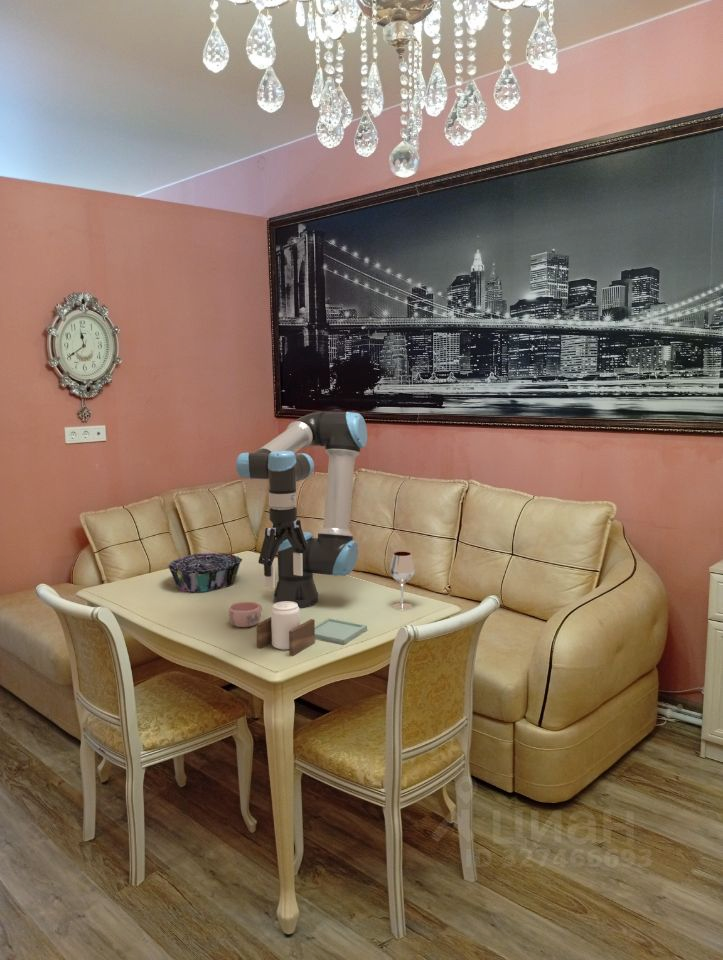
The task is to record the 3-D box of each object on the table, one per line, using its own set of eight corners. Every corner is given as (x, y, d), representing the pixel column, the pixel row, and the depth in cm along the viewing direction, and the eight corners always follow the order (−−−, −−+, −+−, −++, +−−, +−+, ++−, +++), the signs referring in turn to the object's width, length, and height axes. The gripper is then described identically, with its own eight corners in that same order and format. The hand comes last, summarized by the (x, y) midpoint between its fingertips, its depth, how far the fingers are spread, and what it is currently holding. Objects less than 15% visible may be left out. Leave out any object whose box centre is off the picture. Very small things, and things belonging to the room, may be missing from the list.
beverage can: (295, 651, 211) (294, 610, 209) (268, 649, 213) (267, 609, 211) (303, 641, 219) (302, 601, 217) (277, 639, 220) (276, 599, 218)
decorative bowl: (256, 585, 279) (257, 558, 278) (203, 599, 256) (203, 571, 255) (206, 574, 293) (206, 549, 292) (151, 587, 270) (151, 560, 269)
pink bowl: (243, 632, 226) (243, 613, 225) (222, 625, 232) (221, 607, 231) (272, 621, 235) (272, 603, 234) (251, 615, 241) (250, 597, 240)
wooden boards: (257, 647, 214) (256, 624, 213) (279, 635, 223) (279, 612, 222) (293, 656, 208) (292, 631, 207) (314, 642, 217) (314, 619, 216)
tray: (304, 636, 222) (304, 631, 222) (328, 622, 234) (328, 617, 234) (343, 644, 216) (343, 639, 215) (367, 630, 227) (367, 625, 227)
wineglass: (388, 603, 252) (388, 550, 249) (412, 602, 253) (412, 550, 250) (391, 611, 244) (391, 557, 241) (416, 610, 245) (416, 556, 242)
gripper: (266, 516, 197) (268, 594, 200) (318, 501, 218) (319, 572, 221) (243, 513, 200) (246, 590, 204) (297, 498, 222) (298, 568, 225)
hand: (284, 581), depth 212 cm, fingers open, 13 cm apart
